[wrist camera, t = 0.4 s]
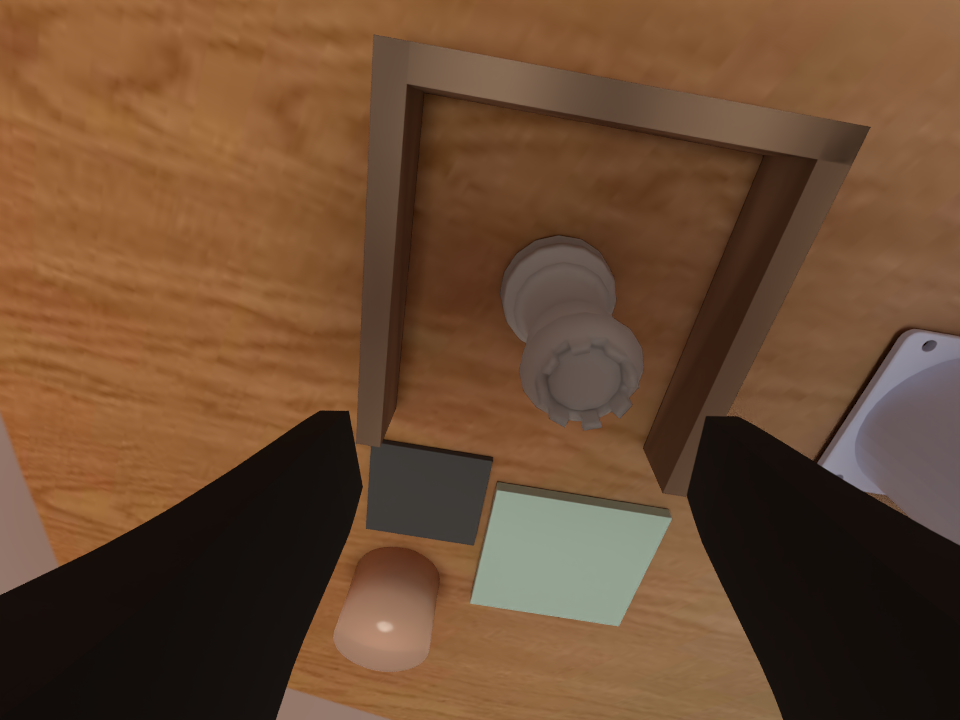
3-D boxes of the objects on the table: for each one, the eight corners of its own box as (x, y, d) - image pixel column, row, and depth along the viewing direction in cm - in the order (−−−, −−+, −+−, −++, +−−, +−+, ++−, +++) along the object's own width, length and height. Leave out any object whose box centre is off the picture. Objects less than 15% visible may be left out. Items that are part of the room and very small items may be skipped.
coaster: (668, 509, 23) (672, 518, 23) (616, 616, 27) (618, 626, 27) (497, 481, 23) (496, 490, 22) (470, 593, 27) (470, 603, 26)
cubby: (805, 128, 15) (870, 127, 12) (663, 451, 21) (685, 497, 19) (397, 52, 15) (373, 34, 12) (375, 404, 21) (356, 443, 18)
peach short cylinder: (444, 553, 26) (434, 621, 22) (434, 608, 28) (424, 677, 24) (358, 540, 25) (334, 606, 22) (355, 595, 28) (333, 663, 24)
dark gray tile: (492, 457, 22) (492, 461, 22) (474, 541, 25) (473, 545, 25) (372, 437, 22) (371, 441, 22) (367, 524, 25) (365, 528, 24)
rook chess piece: (551, 358, 20) (578, 486, 12) (477, 290, 18) (459, 389, 11) (634, 287, 18) (719, 388, 11) (558, 207, 17) (597, 261, 10)
